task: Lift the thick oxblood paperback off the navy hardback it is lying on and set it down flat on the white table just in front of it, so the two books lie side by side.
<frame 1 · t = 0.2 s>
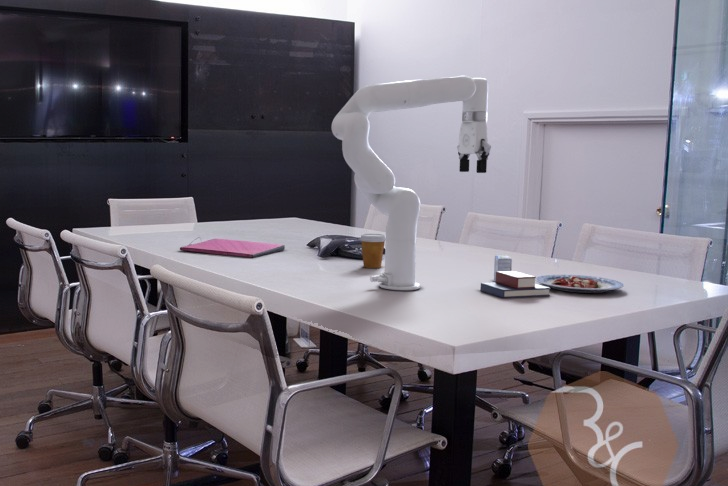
hand: (472, 172, 245), 36 cm above the table, tool pointing down, fingers open, 9 cm apart
laptop bag: (229, 250, 327), on the table
paperback: (515, 285, 234), point 2 cm above the table, touching hardback
ceramic plate: (578, 288, 243), on the table
medicine box: (502, 283, 252), on the table
disposable coffee cup: (372, 267, 284), on the table
hardback: (514, 293, 234), on the table, touching paperback
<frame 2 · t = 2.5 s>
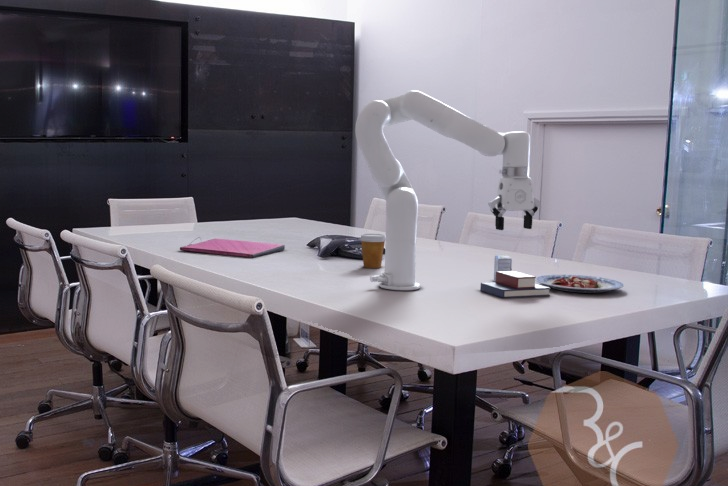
hand: (513, 229, 233), 20 cm above the table, tool pointing down, fingers open, 9 cm apart
nothing on the table moved.
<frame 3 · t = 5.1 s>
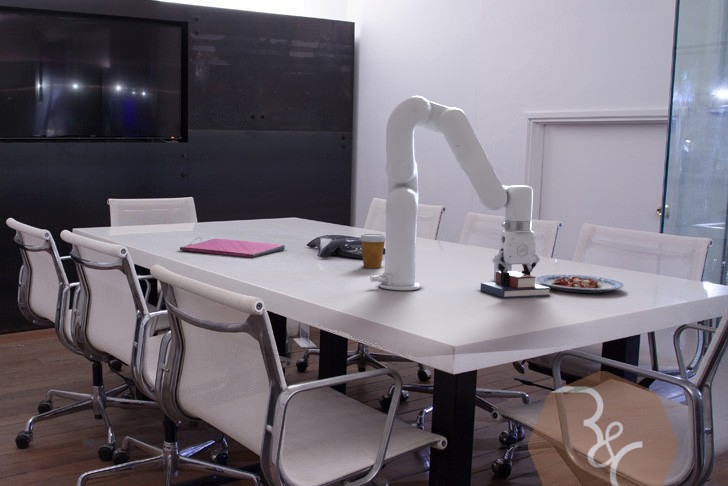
hand: (515, 284, 234), 3 cm above the table, tool pointing down, fingers closed on paperback, 6 cm apart
paperback: (515, 285, 234), point 3 cm above the table, touching gripper, hardback
everything else where it was.
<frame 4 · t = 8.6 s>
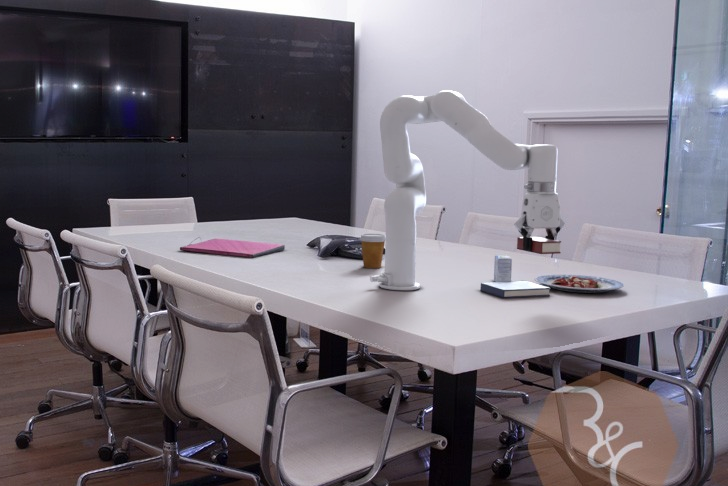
hand: (538, 249, 220), 15 cm above the table, tool pointing down, fingers closed on paperback, 6 cm apart
paperback: (538, 251, 220), point 15 cm above the table, touching gripper
hardback: (514, 293, 234), on the table
everything else where it was.
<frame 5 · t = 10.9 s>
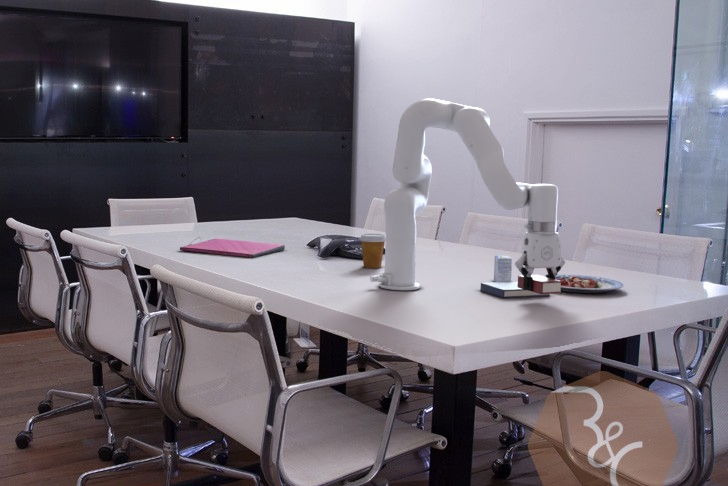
hand: (538, 289, 220), 4 cm above the table, tool pointing down, fingers closed on paperback, 6 cm apart
paperback: (538, 290, 220), point 4 cm above the table, touching gripper
everything else where it was.
when the fingers open (0 cm above the table, at t = 12.4 s): paperback stays where it is, on the table.
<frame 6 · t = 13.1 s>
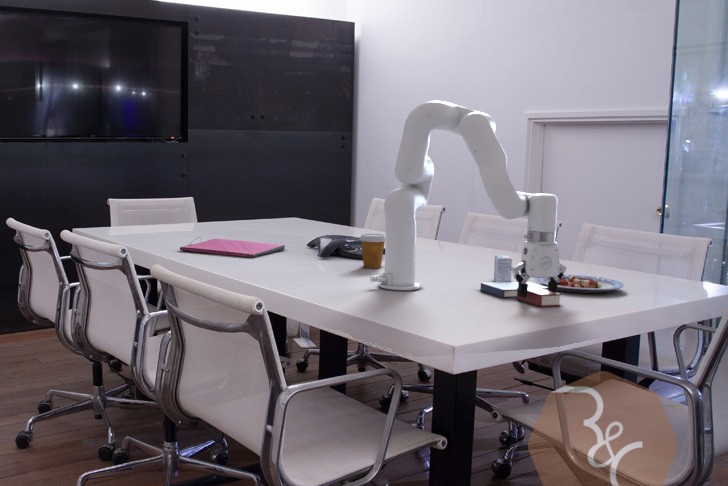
hand: (537, 296, 220), 2 cm above the table, tool pointing down, fingers open, 9 cm apart
paperback: (537, 302, 220), on the table
everything else where it was.
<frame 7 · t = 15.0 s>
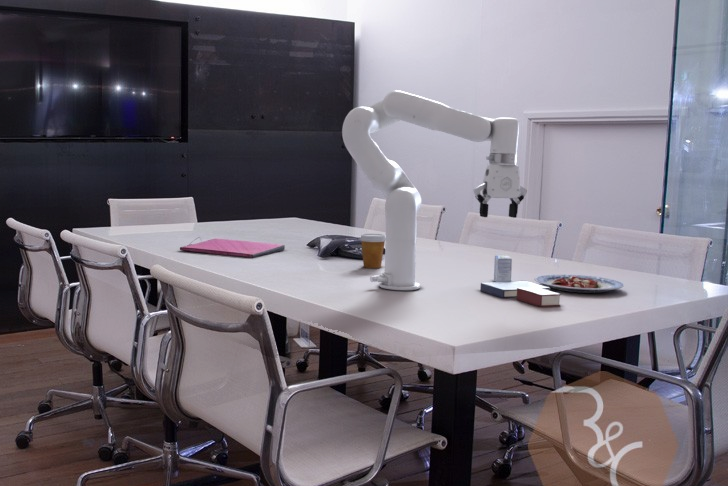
hand: (498, 217, 230), 24 cm above the table, tool pointing down, fingers open, 9 cm apart
nothing on the table moved.
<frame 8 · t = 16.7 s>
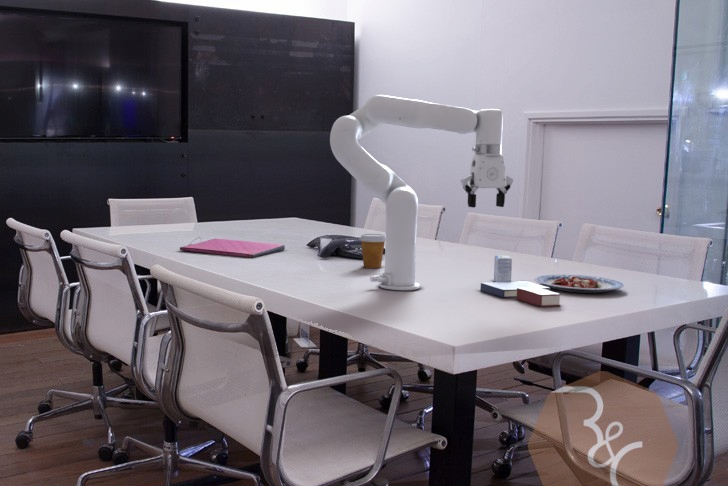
hand: (485, 206, 234), 26 cm above the table, tool pointing down, fingers open, 9 cm apart
nothing on the table moved.
at the end: paperback inside the target area (0.0 cm from its centre), on the table; paperback touching table; hardback moved 0.0 cm from its start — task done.
